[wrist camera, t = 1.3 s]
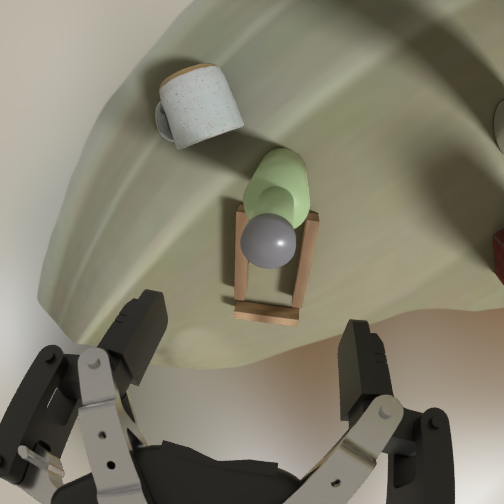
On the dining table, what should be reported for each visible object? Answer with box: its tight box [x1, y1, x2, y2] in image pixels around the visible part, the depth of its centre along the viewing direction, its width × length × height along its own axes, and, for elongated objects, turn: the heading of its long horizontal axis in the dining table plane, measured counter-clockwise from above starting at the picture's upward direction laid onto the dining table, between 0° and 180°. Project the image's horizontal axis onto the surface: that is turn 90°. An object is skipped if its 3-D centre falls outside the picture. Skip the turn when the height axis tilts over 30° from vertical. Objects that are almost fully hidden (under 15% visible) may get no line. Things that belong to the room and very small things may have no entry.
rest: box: [234, 204, 319, 326], centre depth 38 cm, size 10×18×2 cm, turn 176°
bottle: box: [240, 148, 310, 269], centre depth 24 cm, size 6×6×18 cm
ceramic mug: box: [155, 63, 244, 150], centre depth 26 cm, size 11×8×8 cm
